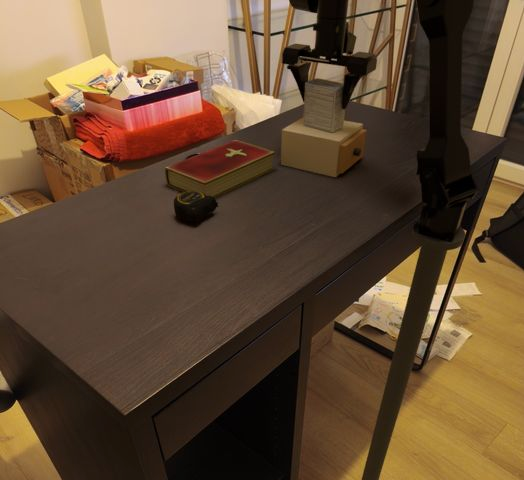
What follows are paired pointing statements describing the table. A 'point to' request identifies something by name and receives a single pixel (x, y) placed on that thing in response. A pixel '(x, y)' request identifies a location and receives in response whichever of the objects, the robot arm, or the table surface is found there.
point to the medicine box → (323, 105)
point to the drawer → (351, 150)
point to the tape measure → (193, 205)
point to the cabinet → (314, 147)
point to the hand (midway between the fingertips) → (324, 105)
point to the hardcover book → (220, 169)
